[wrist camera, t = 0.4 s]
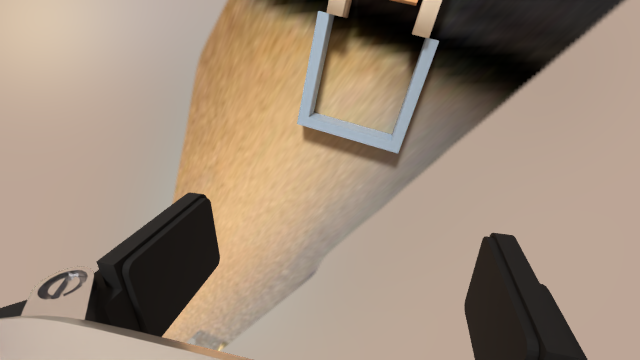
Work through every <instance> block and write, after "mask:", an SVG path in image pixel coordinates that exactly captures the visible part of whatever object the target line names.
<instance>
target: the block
mask: <svg viewBox="0 0 640 360" xmlns="http://www.w3.org/2000/svg"><path fill="white" fill-rule="evenodd" d="M391 1H396V2H400V3H405V4H409V5H414V6H416V4H417V2H418V0H391Z"/></svg>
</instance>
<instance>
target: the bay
mask: <svg viewBox="0 0 640 360" xmlns="http://www.w3.org/2000/svg"><path fill="white" fill-rule="evenodd" d="M333 19H334V15H332V14H328V13H325V12H321V11H318V16H317V21H316V26H315V32H314V37H313V42H312V48H311V53H310V58H309V63H308V69H307V74H306V79H305V85H304V90H303V95H302V101H301V106H300V111H299V116H298V122H297V124H299V125H302V126H306V127H309V128H313V129H316V130H319V131H323V132H326V133H330V134H333V135H336V136H340V137H343V138H347V139H350V140H353V141H357V142H360V143H364V144H367V145H370V146H374V147H377V148H381V149H384V150H387V151H391V152H394V153H398V152H399V149H400V147H401V144H402V141H403V139H404V136H405V133H406V130H407V128H408V125H409V122H410V119H411V117H412V114H413V111H414V109H415V106H416V103H417V100H418V98H419V95H420V92H421V89H422V87H423V84H424V81H425V79H426V76H427V73H428V70H429V68H430V65H431V62H432V59H433V57H434V54H435V51H436V49H437V46H438V43H439V41H438V40H434V39H430V38H425V40H424V43H423V46H422V49H421V52H420V55H419V58H418V61H417V64H416V67H415V69H414V72H413V75H412V78H411V81H410V84H409V87H408V90H407V93H406V95H405V98H404V101H403V104H402V107H401V110H400V113H399V116H398V119H397V122H396V124H395V127H394V130H393V133H392V135H391V134H388V133H384V132H381V131H377V130H374V129H370V128H367V127H363V126H360V125H356V124H353V123H349V122H346V121H342V120H339V119H335V118H332V117H328V116H325V115H322V114H318V113H315V112H314V109H315V105H316V100H317V95H318V90H319V86H320V81H321V76H322V71H323V67H324V62H325V57H326V53H327V48H328V43H329V38H330V34H331V29H332V24H333Z"/></svg>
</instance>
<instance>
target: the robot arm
mask: <svg viewBox="0 0 640 360" xmlns="http://www.w3.org/2000/svg"><path fill="white" fill-rule="evenodd" d="M219 261H220V255H219V249H218V243H217V237H216V231H215V225H214V219H213V213H212V207H211V202H210V200H209V199H207V197H206V196H205V195H204V194H197V193H187V194H186V195H184V196H183V197H182V198H180V199H179V200H178V201H176V202H175V203H174V204H172V205H171V206H170V207H168V208H167V209H166V210H164V211H163V212H162V213H161V214H159V215H158V216H157V217H155V218H154V219H153V220H152V221H150V222H149V223H147V224H146V225H145V226H143V227H142V228H141V229H139V230H138V231H137V232H135V233H134V234H133V235H131V236H130V237H129V238H127V239H126V240H125V241H123V242H122V243H121V244H119V245H118V246H117V247H115V248H114V249H113V250H111V251H110V252H109V253H107V254H106V255H105V256H103V257H102V258H101V259H100V260H98V261H97V264H98V267H99V270H98V271H97V272H95V273H94V272H93V270H91V269H90V268H87V267H72V268H67V269H64V270H61V271H59V272H56V273H54V274H52V275H50V276H48V277H47V278H45V279H44V280H42V281H41V282H40V283H39V284H37V285H36V286H35V287H34V289H33V290H32V292H31V294H30V296H29V298H28V300H25V301H22V302H19V303H15V304H12V305H9V306H6V307H3V308H0V360H252V359H248V358H244V357H240V356H236V355H232V354H228V353H224V352H220V351H216V350H212V349H208V348H204V347H200V346H195V345H191V344H187V343H183V342H179V341H175V340H171V339H167V338H162V336H163V334H164V333H165V332H166V331H167V329H168V328H169V327H170V326H171V324H172V323H173V322H174V320H175V319H176V318H177V317H178V315H179V314H180V313H181V312H182V310H183V309H184V308H185V307H186V305H187V304H188V303H189V301H190V300H191V299H192V298H193V296H194V295H195V294H196V293H197V291H198V290H199V289H200V288H201V286H202V285H203V284H204V283H205V281H206V280H207V279H208V277H209V276H210V275H211V274H212V272H213V271H214V270H215V269H216V267H217V266H218V264H219ZM465 315H466V320H467V324H468V329H469V333H470V338H471V343H472V348H473V352H474V357H475V360H587V358H586V356H585V354H584V353H583V351H582V349H581V347H580V346H579V343H578V342H577V340H576V338H575V336H574V334H573V333H572V331H571V329H570V327H569V325H568V324H567V322H566V320H565V318H564V316H563V315H562V313H561V311H560V309H559V307H558V306H557V304H556V302H555V300H554V298H553V297H552V295H551V293H550V292H549V290H548V289H547V287H546V286H544V285H543V284H540V283H539V281H538V279H537V278H536V276H535V274H534V272H533V270H532V268H531V266H530V264H529V263H528V261H527V259H526V257H525V255H524V253H523V252H522V249H521V247H520V246H519V244H518V242H517V240H516V238H515V237H514V236H513V235H506V234H498V233H492V234H491V235H490V237H484V238H483V240H482V243H481V247H480V250H479V254H478V257H477V261H476V264H475V268H474V272H473V275H472V279H471V282H470V286H469V289H468V293H467V296H466V300H465Z"/></svg>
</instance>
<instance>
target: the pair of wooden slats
mask: <svg viewBox="0 0 640 360" xmlns="http://www.w3.org/2000/svg"><path fill="white" fill-rule="evenodd" d="M351 2H352V0H329V3H328V8H327V13H328V14H332V15H336V16H341V17H345V18H348V15H349V10H350V6H351ZM441 2H442V0H422V3H421V6H420V9H419V12H418V15H417V18H416V22H415V25H414V28H413V31H412V34H413V35H417V36H421V37H425V38H429V36H430V34H431V31H432V28H433V25H434V22H435V19H436V16H437V14H438V11H439V8H440V5H441Z"/></svg>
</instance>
